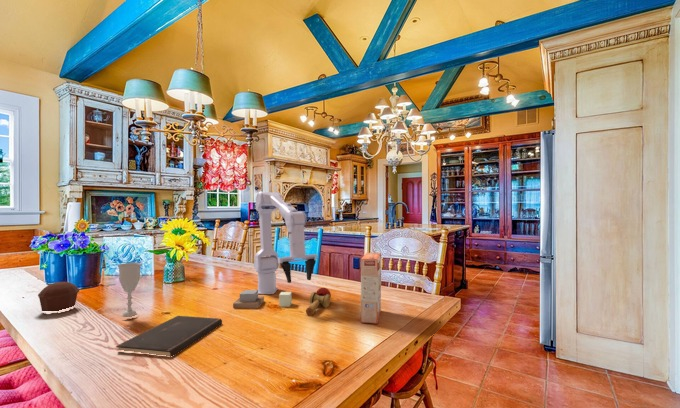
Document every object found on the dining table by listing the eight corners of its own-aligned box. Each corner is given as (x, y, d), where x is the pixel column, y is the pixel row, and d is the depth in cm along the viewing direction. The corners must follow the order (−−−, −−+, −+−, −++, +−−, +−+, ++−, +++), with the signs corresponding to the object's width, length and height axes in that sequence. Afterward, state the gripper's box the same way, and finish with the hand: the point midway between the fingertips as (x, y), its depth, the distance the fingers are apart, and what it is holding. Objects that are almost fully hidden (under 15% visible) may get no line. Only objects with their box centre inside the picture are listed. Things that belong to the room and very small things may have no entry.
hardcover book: (115, 354, 81) (116, 345, 81) (177, 322, 103) (177, 315, 103) (171, 360, 78) (171, 351, 78) (222, 325, 100) (222, 318, 100)
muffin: (71, 313, 110) (71, 285, 110) (30, 317, 106) (30, 288, 106) (84, 304, 121) (84, 278, 121) (47, 307, 117) (48, 280, 117)
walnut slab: (241, 302, 125) (241, 296, 125) (263, 302, 124) (263, 296, 124) (233, 310, 116) (233, 303, 116) (257, 310, 115) (257, 303, 115)
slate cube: (244, 297, 123) (244, 290, 123) (258, 297, 123) (258, 289, 123) (239, 302, 117) (239, 293, 117) (254, 301, 117) (254, 293, 117)
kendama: (323, 320, 107) (336, 298, 124) (319, 303, 106) (333, 283, 124) (302, 322, 109) (318, 300, 126) (298, 305, 108) (314, 285, 126)
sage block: (281, 303, 122) (281, 291, 122) (291, 303, 122) (291, 292, 122) (279, 306, 118) (279, 294, 118) (289, 306, 118) (289, 294, 118)
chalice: (112, 319, 105) (112, 265, 105) (133, 313, 111) (134, 262, 111) (124, 322, 101) (125, 267, 101) (146, 316, 107) (146, 263, 108)
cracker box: (378, 324, 99) (378, 258, 100) (360, 323, 101) (359, 258, 101) (382, 310, 113) (381, 252, 113) (365, 309, 114) (365, 252, 115)
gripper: (281, 245, 109) (283, 284, 108) (319, 242, 116) (321, 279, 115) (275, 245, 116) (277, 283, 114) (312, 242, 122) (314, 278, 121)
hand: (299, 281), depth 115 cm, fingers open, 7 cm apart
